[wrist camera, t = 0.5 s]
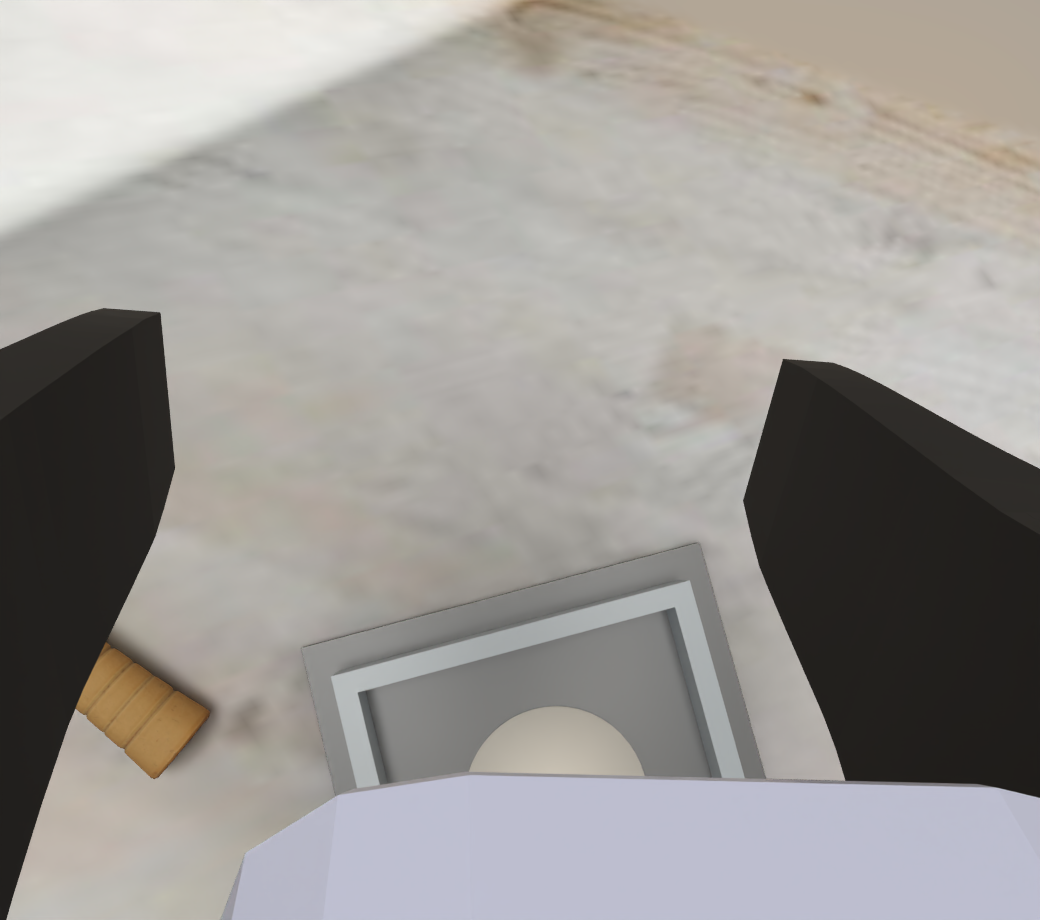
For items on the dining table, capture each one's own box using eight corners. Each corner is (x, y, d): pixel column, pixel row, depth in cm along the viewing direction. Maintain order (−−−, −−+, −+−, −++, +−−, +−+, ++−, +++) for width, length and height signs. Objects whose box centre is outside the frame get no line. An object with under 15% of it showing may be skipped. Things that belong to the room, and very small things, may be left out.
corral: (810, 949, 37) (834, 976, 34) (402, 1070, 36) (396, 1108, 33) (696, 542, 38) (711, 540, 36) (303, 647, 37) (290, 652, 35)
